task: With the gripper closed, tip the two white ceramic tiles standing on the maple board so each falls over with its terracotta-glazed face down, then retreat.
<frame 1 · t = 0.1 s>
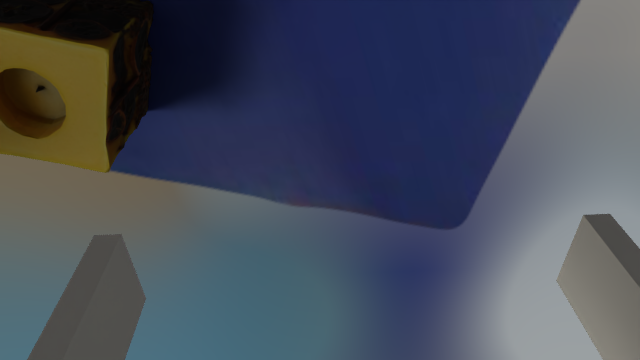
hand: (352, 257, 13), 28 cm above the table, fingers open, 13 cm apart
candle: (90, 46, 38), on the table
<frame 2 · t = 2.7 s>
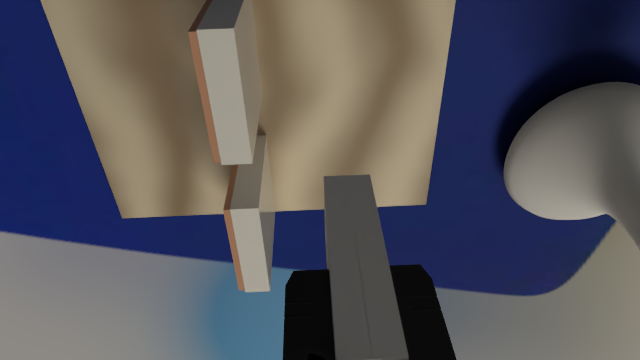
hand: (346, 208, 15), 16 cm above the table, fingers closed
tile b: (257, 176, 34), point 1 cm above the table, touching board
board: (264, 111, 31), on the table
flower in vase: (579, 133, 34), on the table
tile a: (240, 44, 28), point 1 cm above the table, touching board
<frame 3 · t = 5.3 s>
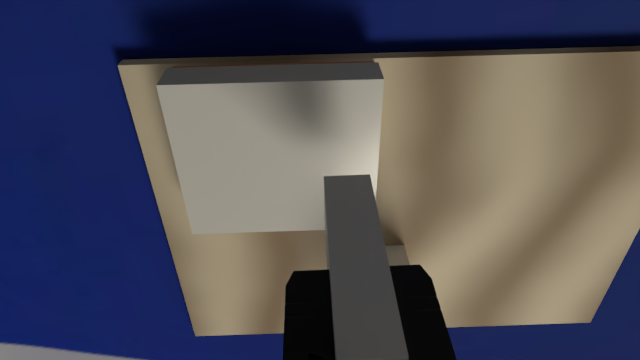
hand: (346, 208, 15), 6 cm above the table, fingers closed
tile b: (381, 291, 25), point 1 cm above the table, touching board
board: (405, 215, 23), on the table
tile a: (375, 148, 19), point 2 cm above the table, tilted 90°, touching board
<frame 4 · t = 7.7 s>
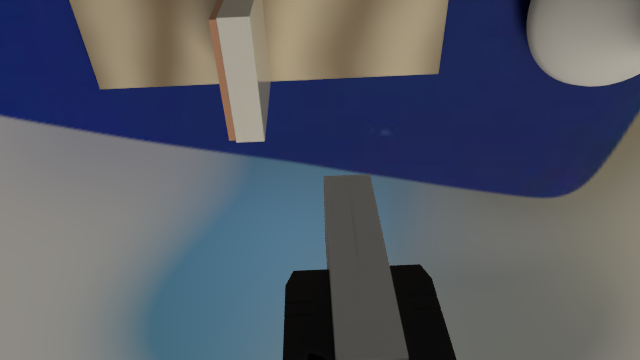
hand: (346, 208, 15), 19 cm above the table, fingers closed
tile b: (250, 33, 30), point 1 cm above the table, touching board
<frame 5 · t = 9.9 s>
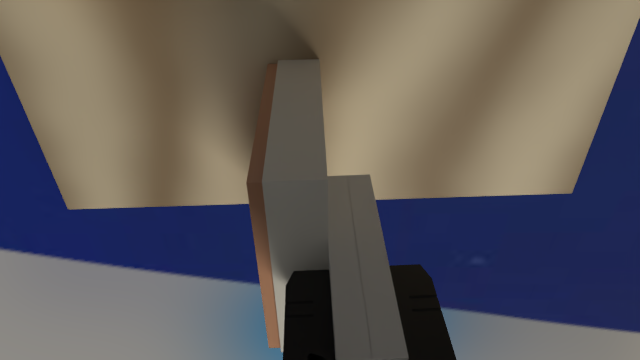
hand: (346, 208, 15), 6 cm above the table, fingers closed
tile b: (297, 138, 20), point 1 cm above the table, touching board, gripper
board: (318, 14, 17), on the table
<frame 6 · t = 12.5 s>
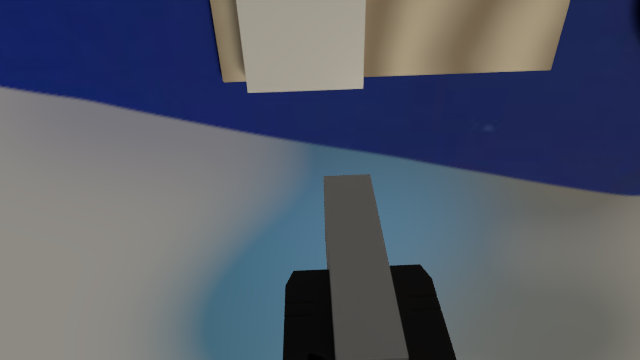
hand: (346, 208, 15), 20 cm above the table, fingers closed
tile b: (362, 33, 30), point 2 cm above the table, tilted 90°, touching board
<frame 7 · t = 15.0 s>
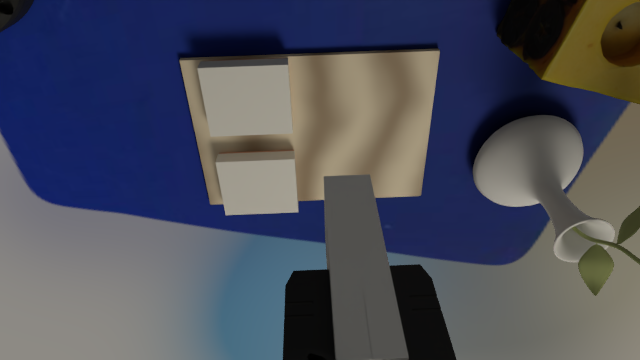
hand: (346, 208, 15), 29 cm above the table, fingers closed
tile b: (296, 181, 49), point 2 cm above the table, tilted 90°, touching board
board: (313, 132, 47), on the table
flower in vase: (524, 147, 50), on the table
tile a: (290, 96, 43), point 2 cm above the table, tilted 90°, touching board
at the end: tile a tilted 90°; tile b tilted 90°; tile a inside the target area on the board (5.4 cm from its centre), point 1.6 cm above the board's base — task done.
